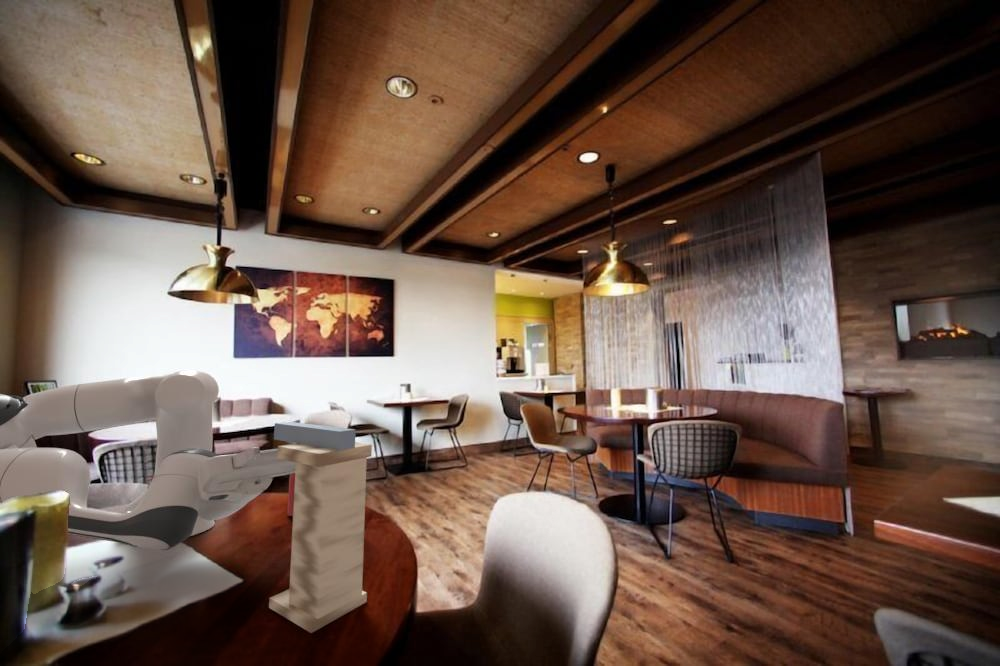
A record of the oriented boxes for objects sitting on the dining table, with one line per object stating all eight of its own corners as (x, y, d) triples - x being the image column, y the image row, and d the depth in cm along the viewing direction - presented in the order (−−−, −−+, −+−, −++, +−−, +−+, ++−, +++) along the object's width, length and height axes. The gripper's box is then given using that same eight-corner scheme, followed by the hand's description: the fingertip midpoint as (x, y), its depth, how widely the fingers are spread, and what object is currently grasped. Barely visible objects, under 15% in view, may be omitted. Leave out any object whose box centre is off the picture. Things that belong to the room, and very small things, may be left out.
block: (273, 439, 77) (274, 423, 77) (289, 437, 79) (290, 421, 80) (339, 450, 66) (339, 431, 66) (354, 447, 68) (355, 429, 69)
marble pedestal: (268, 607, 67) (277, 446, 70) (324, 581, 75) (330, 438, 78) (311, 633, 60) (319, 453, 63) (366, 602, 69) (371, 444, 71)
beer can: (303, 519, 108) (305, 472, 109) (281, 517, 109) (284, 471, 110) (319, 511, 114) (321, 467, 115) (298, 509, 115) (300, 466, 117)
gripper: (299, 481, 90) (334, 456, 85) (191, 502, 74) (225, 472, 68) (293, 454, 93) (327, 428, 87) (187, 469, 76) (220, 437, 70)
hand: (281, 447), depth 77 cm, fingers open, 8 cm apart
